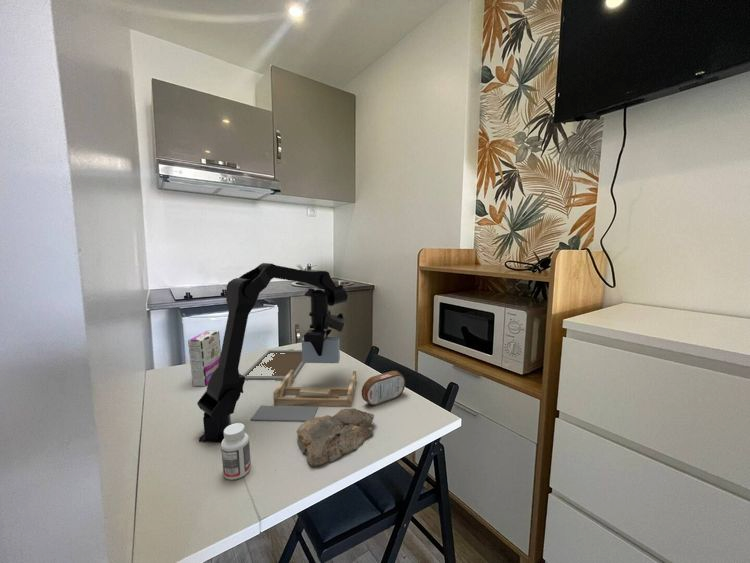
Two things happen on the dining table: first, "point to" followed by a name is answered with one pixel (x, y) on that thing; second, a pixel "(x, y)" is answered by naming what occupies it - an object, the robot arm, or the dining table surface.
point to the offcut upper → (314, 393)
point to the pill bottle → (235, 452)
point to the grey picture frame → (279, 365)
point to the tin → (383, 387)
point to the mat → (285, 413)
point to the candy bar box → (204, 356)
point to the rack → (286, 389)
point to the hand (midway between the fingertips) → (321, 353)
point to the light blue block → (328, 353)
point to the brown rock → (334, 435)
